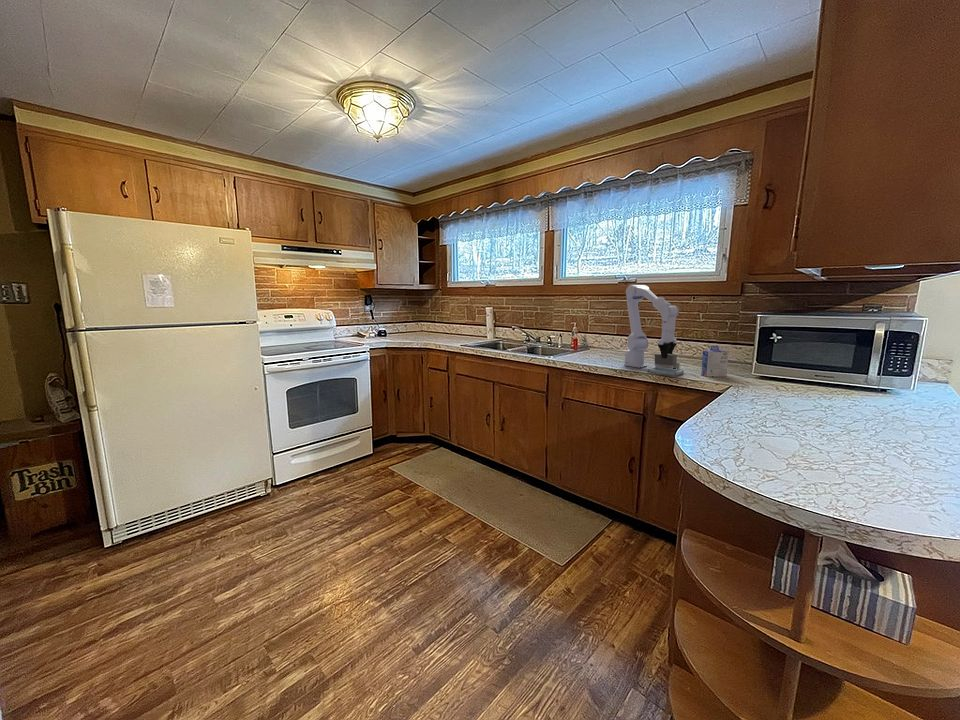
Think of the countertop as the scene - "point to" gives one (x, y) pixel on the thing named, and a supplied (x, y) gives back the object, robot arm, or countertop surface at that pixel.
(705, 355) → the ink cartridge box
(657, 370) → the tray
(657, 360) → the gray white block
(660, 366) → the bay
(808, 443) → the countertop surface
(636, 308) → the robot arm
